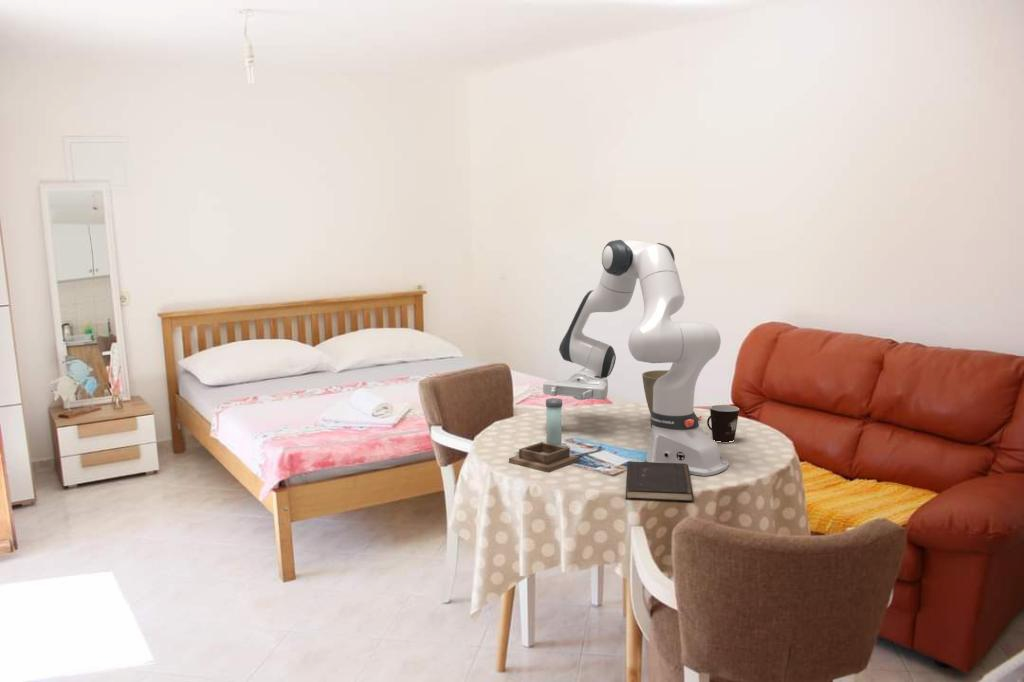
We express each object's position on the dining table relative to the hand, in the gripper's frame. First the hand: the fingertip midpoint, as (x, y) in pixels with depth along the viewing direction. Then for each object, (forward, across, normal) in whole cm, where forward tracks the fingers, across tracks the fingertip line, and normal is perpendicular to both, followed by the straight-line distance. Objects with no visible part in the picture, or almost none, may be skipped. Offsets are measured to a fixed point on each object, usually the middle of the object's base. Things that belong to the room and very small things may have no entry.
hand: (567, 394), depth 258 cm
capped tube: (+13, 0, +14) cm, 19 cm away
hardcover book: (+35, +37, +13) cm, 52 cm away
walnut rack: (+26, +2, +13) cm, 29 cm away
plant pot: (-32, +23, +14) cm, 41 cm away
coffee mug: (-14, +44, +14) cm, 48 cm away
